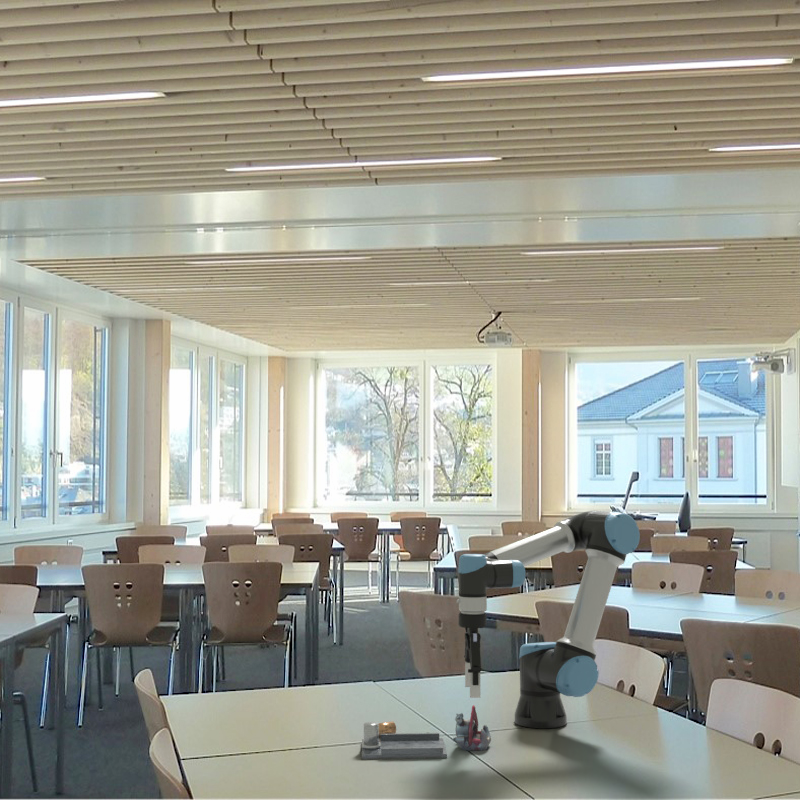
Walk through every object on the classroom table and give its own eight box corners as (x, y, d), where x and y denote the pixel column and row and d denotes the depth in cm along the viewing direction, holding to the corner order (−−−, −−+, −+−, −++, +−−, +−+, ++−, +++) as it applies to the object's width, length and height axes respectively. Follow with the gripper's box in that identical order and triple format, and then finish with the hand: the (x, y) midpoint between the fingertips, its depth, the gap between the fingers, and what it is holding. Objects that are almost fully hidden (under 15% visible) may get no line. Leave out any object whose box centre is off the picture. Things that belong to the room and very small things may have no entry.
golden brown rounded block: (389, 733, 306) (389, 720, 306) (396, 735, 303) (396, 722, 303) (371, 736, 303) (371, 722, 303) (377, 738, 299) (377, 725, 300)
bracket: (442, 741, 295) (442, 715, 295) (447, 757, 279) (446, 730, 280) (361, 743, 294) (361, 717, 295) (361, 759, 278) (361, 731, 279)
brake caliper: (495, 744, 283) (467, 706, 285) (462, 768, 284) (435, 730, 287) (501, 734, 294) (475, 697, 296) (470, 757, 295) (443, 720, 298)
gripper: (454, 606, 304) (454, 682, 302) (462, 618, 279) (462, 702, 277) (481, 606, 304) (481, 682, 303) (491, 618, 279) (491, 702, 278)
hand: (472, 692), depth 290 cm, fingers open, 13 cm apart
